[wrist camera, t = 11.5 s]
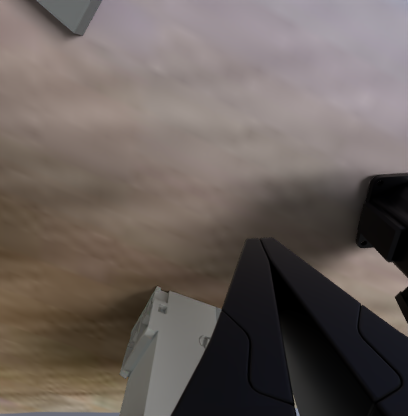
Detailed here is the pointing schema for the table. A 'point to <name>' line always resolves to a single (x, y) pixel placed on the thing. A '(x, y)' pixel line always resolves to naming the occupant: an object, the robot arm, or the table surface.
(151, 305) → the circuit breaker
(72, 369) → the table surface
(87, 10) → the din rail plate
